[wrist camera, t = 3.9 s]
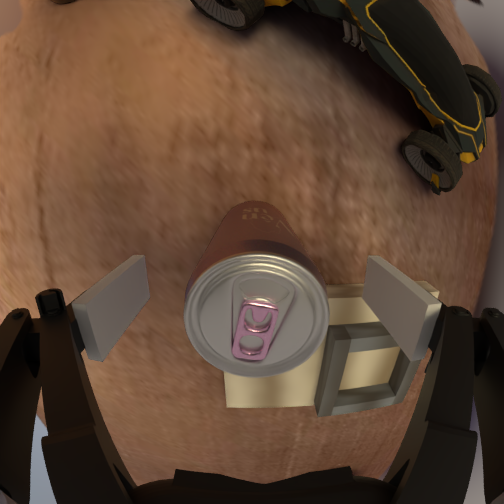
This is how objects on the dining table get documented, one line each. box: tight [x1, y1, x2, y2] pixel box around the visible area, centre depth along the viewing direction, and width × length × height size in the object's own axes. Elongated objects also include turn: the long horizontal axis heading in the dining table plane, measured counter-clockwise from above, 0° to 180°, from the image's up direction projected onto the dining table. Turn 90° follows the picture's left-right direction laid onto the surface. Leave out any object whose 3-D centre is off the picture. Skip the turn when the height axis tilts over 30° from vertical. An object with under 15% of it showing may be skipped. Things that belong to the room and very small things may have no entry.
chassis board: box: [224, 281, 439, 417], centre depth 25 cm, size 22×14×6 cm, turn 90°
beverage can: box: [184, 201, 330, 378], centre depth 17 cm, size 6×6×15 cm
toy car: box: [190, 0, 502, 195], centre depth 14 cm, size 16×32×10 cm, turn 51°
